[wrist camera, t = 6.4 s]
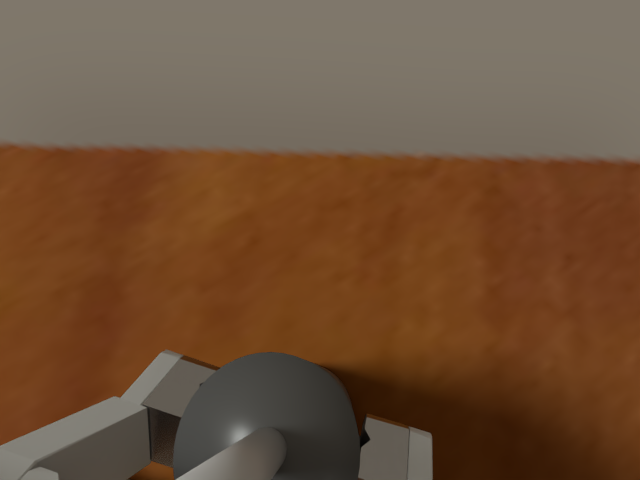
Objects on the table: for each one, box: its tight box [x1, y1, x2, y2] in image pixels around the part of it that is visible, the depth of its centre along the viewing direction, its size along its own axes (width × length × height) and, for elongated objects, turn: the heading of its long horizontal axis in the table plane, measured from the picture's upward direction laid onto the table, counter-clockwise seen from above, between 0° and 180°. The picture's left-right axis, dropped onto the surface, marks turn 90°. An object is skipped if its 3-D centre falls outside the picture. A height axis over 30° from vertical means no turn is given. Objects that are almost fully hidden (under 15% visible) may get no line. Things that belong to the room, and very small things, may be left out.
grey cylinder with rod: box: [173, 352, 360, 480], centre depth 10 cm, size 4×4×12 cm
